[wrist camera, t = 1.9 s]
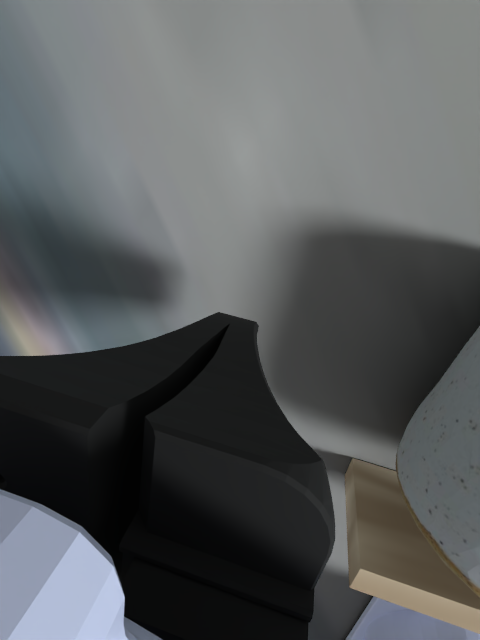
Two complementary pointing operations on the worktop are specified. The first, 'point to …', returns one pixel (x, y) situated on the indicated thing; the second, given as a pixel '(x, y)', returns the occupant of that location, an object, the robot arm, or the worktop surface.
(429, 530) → the ceramic mug
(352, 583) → the brown wooden pieces
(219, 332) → the robot arm
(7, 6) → the worktop surface
